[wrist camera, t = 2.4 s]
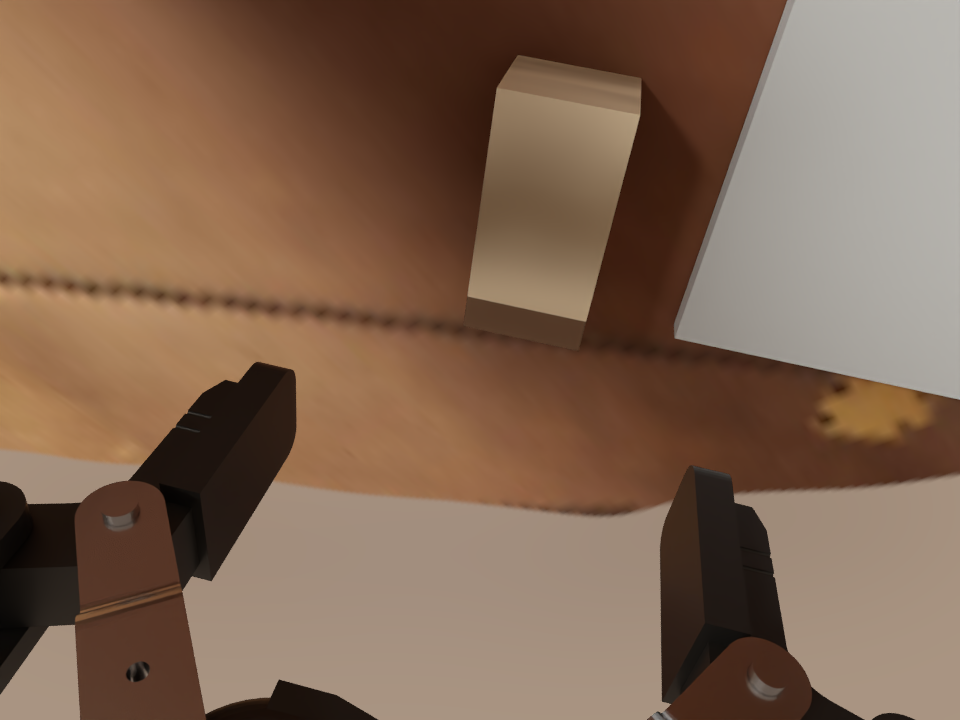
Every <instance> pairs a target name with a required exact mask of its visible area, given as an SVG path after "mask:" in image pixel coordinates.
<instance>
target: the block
mask: <svg viewBox="0 0 960 720" xmlns="http://www.w3.org/2000/svg"><path fill="white" fill-rule="evenodd" d="M641 79H642V78H638V77H633V76H627V75H622V74H617V73H611V72H606V71H601V70H595V69H590V68H585V67H579V66H574V65H569V64H563V63H558V62H553V61H547V60H542V59H537V58H531V57H526V56H521V55H518V56H517V57H516V59H515V60H514V62H513V63H512V65H511V66H510V68H509V70H508V71H507V73H506V74H505V76H504V77H503V79H502V80H501V82H500V84H499V85H498V87H497V90H496V97H495V104H494V111H493V118H492V126H491V133H490V140H489V147H488V154H487V161H486V168H485V175H484V182H483V189H482V196H481V203H480V211H479V218H478V225H477V232H476V239H475V246H474V253H473V260H472V267H471V274H470V281H469V288H468V296H467V303H466V310H465V317H464V324H463V326H465V327H469V328H474V329H479V330H483V331H488V332H492V333H497V334H501V335H506V336H511V337H515V338H520V339H524V340H529V341H534V342H538V343H543V344H547V345H552V346H556V347H561V348H566V349H570V350H575V351H579V347H580V343H581V339H582V335H583V332H584V328H585V324H586V320H587V316H588V312H589V309H590V305H591V301H592V297H593V293H594V290H595V286H596V282H597V278H598V274H599V271H600V267H601V263H602V259H603V255H604V252H605V248H606V244H607V240H608V236H609V233H610V229H611V225H612V221H613V217H614V213H615V210H616V206H617V202H618V198H619V194H620V191H621V187H622V183H623V179H624V175H625V172H626V168H627V164H628V160H629V156H630V153H631V149H632V145H633V141H634V137H635V134H636V130H637V126H638V122H639V118H640V110H641Z"/></svg>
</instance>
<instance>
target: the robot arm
mask: <svg viewBox="0 0 960 720" xmlns="http://www.w3.org/2000/svg"><path fill="white" fill-rule="evenodd" d="M295 434H296V377H295V373H294V371H293V370H291V369H287V368H282V367H278V366H274V365H270V364H265V363H261V362H256V363H254V364H253V365H252V366H251V367H250V369H249V370H248V371H247V372H246V374H245V375H244V376H243V377H242V379H241V380H240V381H239V382H238V383H236V382H232V381H228V380H225V381H223V382H221V383H219V384H218V385H216V386H214V387H212V388H211V389H209V390H207V391H205V392H204V393H202V394H201V396H200V397H199V398H198V399H197V400H196V402H195V403H194V404H193V405H192V406H191V407H190V409H189V410H188V413H187V414H185V415H184V416H183V417H182V418H181V419H180V421H179V422H178V423H177V424H176V428H173V429H172V430H171V431H170V432H169V434H168V435H167V436H166V437H165V438H164V439H163V441H162V442H161V443H160V444H159V445H158V447H157V448H156V449H155V450H154V451H153V452H152V454H151V455H150V456H149V457H148V458H147V460H146V461H145V462H144V463H143V464H142V465H141V467H140V468H139V469H138V470H137V472H136V473H135V474H134V475H133V476H132V477H131V479H129V480H128V481H122V482H116V483H112V484H109V485H106V486H104V487H102V488H99V489H98V490H96V491H94V492H93V493H91V494H90V495H89V496H87V497H86V498H85V499H84V500H83V501H82V502H81V503H66V504H27V501H26V498H25V495H24V494H23V492H22V491H21V489H19V488H18V487H17V486H15V485H13V484H10V483H7V482H1V481H0V694H1V693H2V691H3V690H4V689H5V687H6V686H7V684H8V683H9V682H10V680H11V679H12V677H13V676H14V674H15V673H16V671H17V670H18V669H19V667H20V666H21V665H22V663H23V662H24V660H25V659H26V658H27V656H28V655H29V653H30V652H31V650H32V649H33V648H34V646H35V645H36V643H37V642H38V641H39V639H40V638H41V636H42V635H43V634H44V632H45V631H46V629H47V628H48V627H49V626H58V625H75V633H76V651H77V668H78V687H79V705H80V720H377V719H376V718H374V717H373V716H371V715H369V714H368V713H366V712H364V711H362V710H361V709H359V708H357V707H356V706H354V705H352V704H351V703H349V702H347V701H345V700H344V699H342V698H340V697H339V696H337V695H334V694H330V693H326V692H322V691H319V690H315V689H311V688H308V687H304V686H300V685H297V684H293V683H290V682H286V681H282V680H279V681H278V683H277V685H276V687H275V689H274V691H273V694H272V696H271V698H257V699H249V700H245V701H240V702H236V703H232V704H229V705H226V706H223V707H221V708H218V709H216V710H213V711H211V712H209V713H207V714H205V711H204V706H203V700H202V695H201V690H200V684H199V679H198V673H197V668H196V663H195V657H194V652H193V647H192V641H191V636H190V631H189V625H188V620H187V615H186V609H185V604H184V599H183V593H182V591H183V589H184V587H185V586H186V584H187V583H188V581H189V580H190V578H191V577H192V576H194V577H197V578H201V579H205V580H209V581H212V580H213V578H214V576H215V575H216V573H217V571H218V570H219V568H220V566H221V565H222V563H223V561H224V560H225V558H226V557H227V555H228V553H229V552H230V550H231V548H232V547H233V545H234V544H235V542H236V540H237V539H238V537H239V535H240V534H241V532H242V531H243V529H244V527H245V526H246V524H247V522H248V521H249V519H250V517H251V516H252V514H253V513H254V511H255V509H256V508H257V506H258V504H259V503H260V501H261V499H262V498H263V496H264V495H265V493H266V491H267V490H268V488H269V486H270V485H271V483H272V481H273V480H274V478H275V477H276V475H277V473H278V472H279V470H280V468H281V467H282V465H283V463H284V462H285V460H286V459H287V457H288V455H289V453H290V451H291V448H292V446H293V443H294V439H295ZM770 554H771V553H770V547H769V541H768V536H767V531H766V529H765V527H764V526H763V524H762V522H761V521H760V519H759V517H758V516H757V514H756V513H755V511H754V510H753V508H752V507H749V506H745V505H741V504H736V503H735V502H734V495H733V487H732V480H731V477H730V475H729V474H726V473H722V472H717V471H713V470H709V469H705V468H700V467H696V466H692V465H691V466H689V467H688V469H687V471H686V473H685V475H684V477H683V479H682V482H681V484H680V486H679V489H678V491H677V493H676V496H675V498H674V500H673V503H672V505H671V507H670V510H669V512H668V515H667V517H666V520H665V523H664V526H663V531H662V536H661V544H660V570H661V572H660V576H661V577H660V578H661V656H662V657H661V659H662V660H661V663H662V702H666V703H670V704H671V705H670V706H669V707H668V708H667V709H666V710H665V711H664V712H663V713H660V712H656V713H654V714H653V715H652V716H651V717H650V718H648V719H647V720H864V719H862V718H860V717H858V716H857V715H855V714H853V713H851V712H849V711H847V710H846V709H844V708H842V707H840V706H839V705H837V704H835V703H833V702H832V701H830V700H828V699H827V698H825V697H823V696H822V695H821V694H819V693H818V692H817V691H816V690H814V689H813V688H812V687H811V685H810V682H809V679H808V677H807V675H806V673H805V671H804V670H803V668H802V666H801V665H800V664H799V663H798V662H797V660H796V659H795V658H794V657H793V656H792V655H791V654H790V653H789V652H788V650H787V647H786V641H785V635H784V629H783V623H782V617H781V612H780V605H779V600H778V594H777V588H776V582H775V578H774V577H773V574H774V570H773V565H772V559H771V558H770ZM872 720H914V719H912V718H910V717H907V716H904V715H900V714H895V713H886V714H881V715H878V716H876V717H875V718H873V719H872Z"/></svg>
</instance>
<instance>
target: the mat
mask: <svg viewBox="0 0 960 720" xmlns="http://www.w3.org/2000/svg"><path fill="white" fill-rule="evenodd" d="M674 337H675V339H680V340H685V341H689V342H694V343H699V344H703V345H708V346H713V347H717V348H722V349H727V350H731V351H736V352H741V353H745V354H750V355H755V356H759V357H764V358H769V359H773V360H778V361H783V362H787V363H792V364H797V365H801V366H806V367H811V368H815V369H820V370H825V371H829V372H834V373H838V374H843V375H848V376H852V377H857V378H862V379H866V380H871V381H876V382H880V383H885V384H890V385H894V386H899V387H904V388H908V389H913V390H918V391H922V392H927V393H932V394H936V395H941V396H946V397H950V398H955V399H960V0H787V3H786V6H785V9H784V12H783V14H782V17H781V20H780V23H779V26H778V29H777V32H776V34H775V37H774V40H773V43H772V46H771V49H770V51H769V54H768V57H767V60H766V63H765V66H764V69H763V71H762V74H761V77H760V80H759V83H758V86H757V89H756V91H755V94H754V97H753V100H752V103H751V106H750V108H749V111H748V114H747V117H746V120H745V123H744V126H743V128H742V131H741V134H740V137H739V140H738V143H737V146H736V148H735V151H734V154H733V157H732V160H731V163H730V165H729V168H728V171H727V174H726V177H725V180H724V183H723V185H722V188H721V191H720V194H719V197H718V200H717V203H716V205H715V208H714V211H713V214H712V217H711V220H710V222H709V225H708V228H707V231H706V234H705V237H704V240H703V242H702V245H701V248H700V251H699V254H698V257H697V260H696V262H695V265H694V268H693V271H692V274H691V277H690V280H689V282H688V285H687V288H686V291H685V294H684V297H683V299H682V302H681V305H680V308H679V311H678V314H677V317H676V319H675V322H674Z"/></svg>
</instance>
